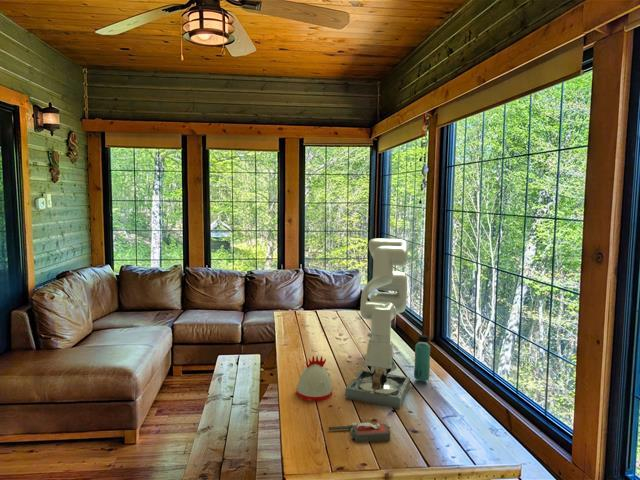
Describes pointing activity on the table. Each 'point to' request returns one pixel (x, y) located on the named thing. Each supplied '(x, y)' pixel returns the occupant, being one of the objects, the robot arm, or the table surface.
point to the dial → (379, 384)
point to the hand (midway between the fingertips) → (379, 382)
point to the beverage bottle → (422, 359)
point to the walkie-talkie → (366, 431)
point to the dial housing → (374, 397)
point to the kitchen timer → (314, 382)
